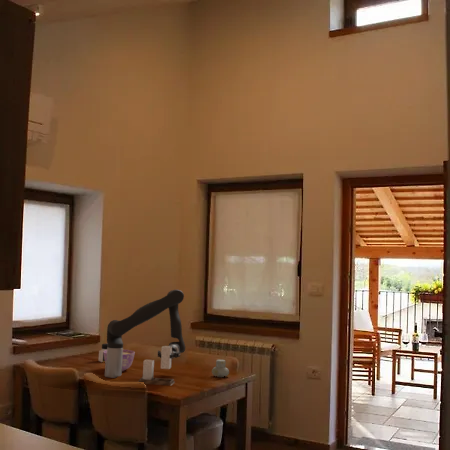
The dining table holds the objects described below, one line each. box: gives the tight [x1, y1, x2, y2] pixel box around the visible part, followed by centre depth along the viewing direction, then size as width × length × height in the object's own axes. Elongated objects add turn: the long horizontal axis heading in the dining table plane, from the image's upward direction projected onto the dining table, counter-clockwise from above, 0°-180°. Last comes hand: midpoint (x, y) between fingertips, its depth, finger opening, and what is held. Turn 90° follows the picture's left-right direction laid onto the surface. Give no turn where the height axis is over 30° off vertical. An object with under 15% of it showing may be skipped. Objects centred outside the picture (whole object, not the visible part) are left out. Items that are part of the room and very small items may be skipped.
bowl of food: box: [103, 349, 136, 372], centre depth 350 cm, size 20×20×12 cm
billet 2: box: [160, 345, 172, 370], centre depth 316 cm, size 5×5×12 cm
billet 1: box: [142, 359, 155, 381], centre depth 316 cm, size 5×5×12 cm
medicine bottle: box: [98, 343, 108, 363], centre depth 378 cm, size 7×7×12 cm
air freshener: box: [211, 359, 230, 378], centre depth 346 cm, size 11×8×10 cm
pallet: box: [138, 376, 176, 386], centre depth 315 cm, size 20×11×3 cm, turn 84°
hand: (165, 356), depth 313 cm, fingers closed on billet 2, 5 cm apart
